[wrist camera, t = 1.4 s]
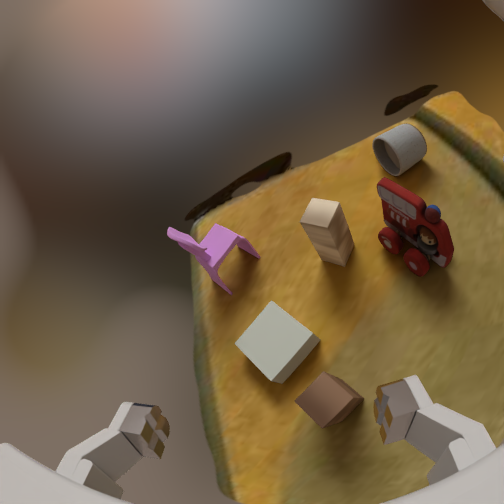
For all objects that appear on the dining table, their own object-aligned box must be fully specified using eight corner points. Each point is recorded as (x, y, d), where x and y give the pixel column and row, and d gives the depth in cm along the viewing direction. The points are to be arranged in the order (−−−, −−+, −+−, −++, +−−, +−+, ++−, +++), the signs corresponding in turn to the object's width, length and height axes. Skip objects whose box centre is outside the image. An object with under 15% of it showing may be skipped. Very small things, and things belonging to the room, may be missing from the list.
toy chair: (266, 257, 47) (217, 202, 36) (235, 298, 45) (175, 253, 35) (237, 240, 52) (188, 190, 42) (208, 277, 51) (153, 234, 40)
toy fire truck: (431, 289, 30) (439, 249, 22) (371, 239, 38) (360, 193, 31) (458, 255, 30) (470, 208, 22) (399, 211, 38) (392, 162, 31)
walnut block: (342, 379, 30) (323, 371, 23) (364, 398, 27) (353, 397, 20) (320, 402, 30) (294, 401, 23) (341, 421, 27) (322, 428, 20)
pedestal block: (282, 309, 40) (271, 300, 37) (321, 340, 35) (312, 333, 32) (248, 349, 39) (234, 343, 37) (283, 383, 34) (271, 381, 31)
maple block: (331, 238, 42) (312, 197, 35) (354, 244, 39) (339, 202, 32) (321, 259, 41) (299, 221, 34) (344, 266, 38) (327, 227, 31)
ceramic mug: (430, 162, 39) (427, 127, 33) (403, 184, 40) (397, 149, 35) (392, 139, 46) (385, 108, 41) (365, 158, 47) (356, 126, 42)
